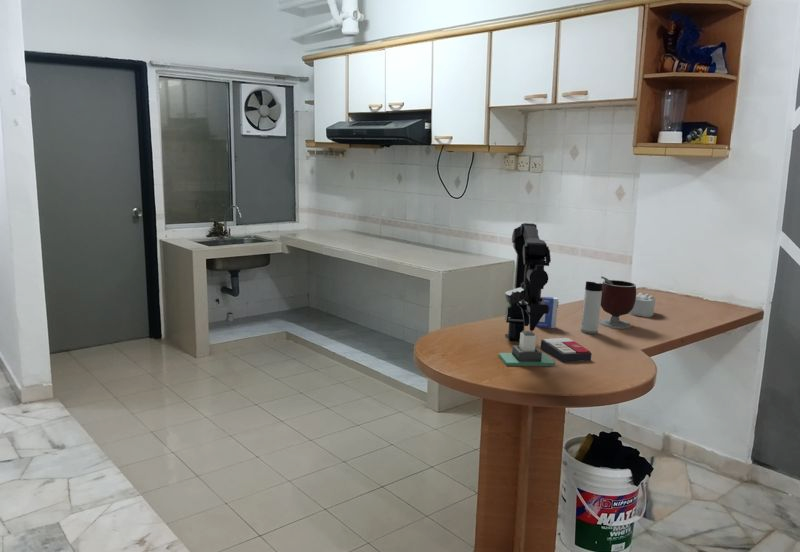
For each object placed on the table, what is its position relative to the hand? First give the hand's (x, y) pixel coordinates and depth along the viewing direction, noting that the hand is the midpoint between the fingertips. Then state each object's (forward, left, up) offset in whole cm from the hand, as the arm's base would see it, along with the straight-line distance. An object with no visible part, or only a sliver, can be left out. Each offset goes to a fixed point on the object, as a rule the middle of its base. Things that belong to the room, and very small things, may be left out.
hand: (528, 328), depth 215 cm
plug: (0, 0, -9) cm, 9 cm away
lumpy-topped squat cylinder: (-68, +73, -11) cm, 100 cm away
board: (0, 0, -11) cm, 11 cm away
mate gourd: (-48, +51, -11) cm, 71 cm away
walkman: (-43, +21, -11) cm, 49 cm away
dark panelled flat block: (-8, +16, -12) cm, 21 cm away
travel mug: (-36, +36, -11) cm, 52 cm away
